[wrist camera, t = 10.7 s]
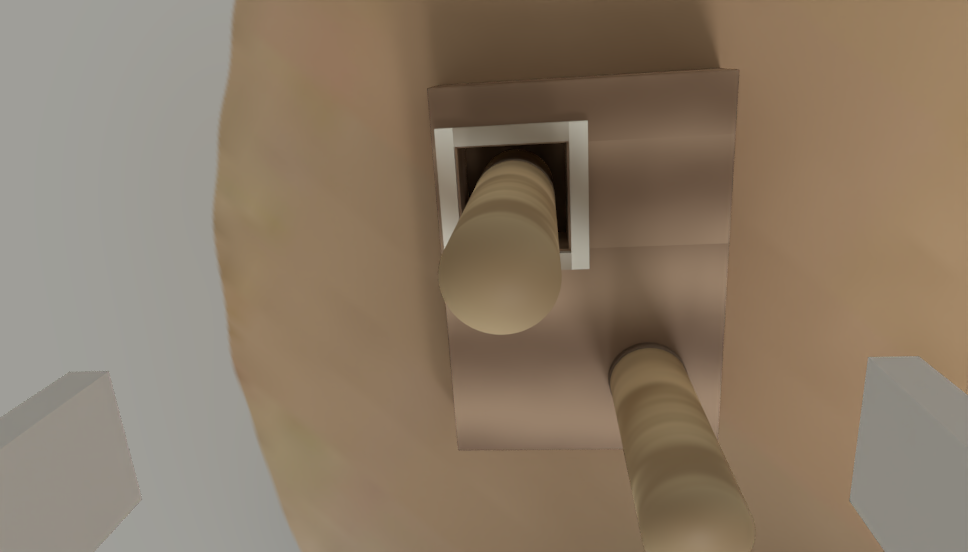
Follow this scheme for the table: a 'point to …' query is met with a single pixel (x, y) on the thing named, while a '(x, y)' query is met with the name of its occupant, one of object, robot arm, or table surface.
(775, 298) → the table surface
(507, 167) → the leg peg
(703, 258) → the wooden base block
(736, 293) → the table surface
